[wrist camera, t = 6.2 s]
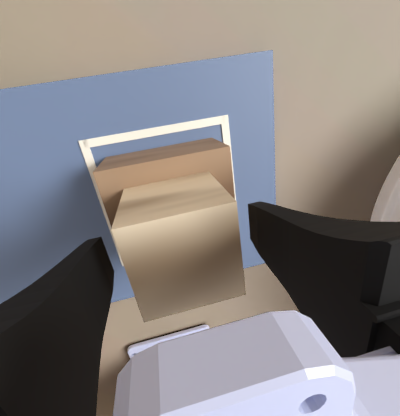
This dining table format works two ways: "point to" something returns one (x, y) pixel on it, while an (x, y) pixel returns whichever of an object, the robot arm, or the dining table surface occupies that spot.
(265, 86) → the board
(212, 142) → the walnut base
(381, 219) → the plate stack
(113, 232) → the maple cube
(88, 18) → the dining table surface
